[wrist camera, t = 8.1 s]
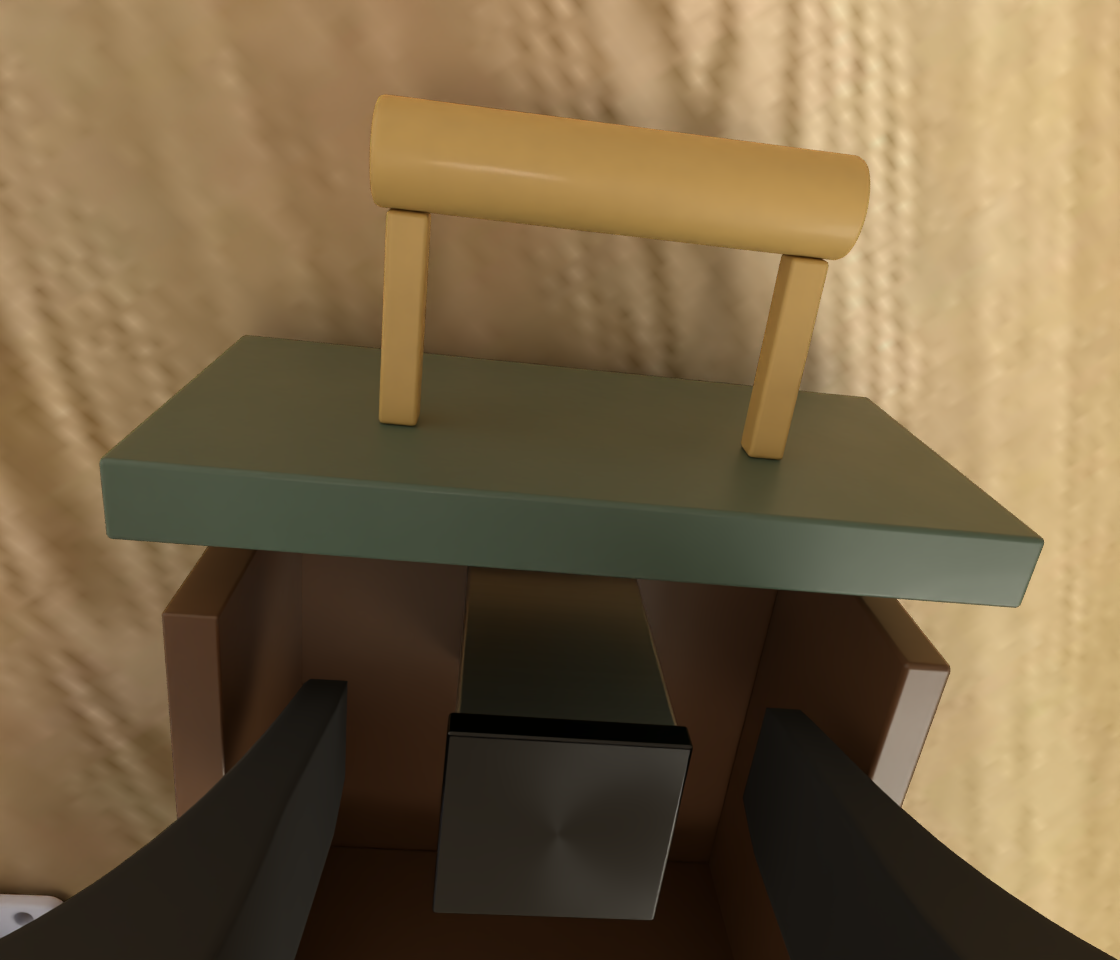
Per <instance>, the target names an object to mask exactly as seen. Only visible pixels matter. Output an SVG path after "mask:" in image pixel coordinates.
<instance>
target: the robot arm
mask: <svg viewBox="0 0 1120 960" xmlns="http://www.w3.org/2000/svg"><path fill="white" fill-rule="evenodd" d="M347 683H348V681H340V680H324V679H309V680H308V681H307V682H305V683H304V684H303V685H302V686H301V688H300V689H299V691H298V692H297V693H296V695H295V696H294V697H293V698H292V700H291V701H290V702H289V704H288V705H287V706H286V707H285V709H284V710H283V711H282V712H281V714H280V715H279V716H278V717H277V718H276V720H275V721H274V722H273V723H272V724H271V725H270V727H269V728H268V729H267V730H266V731H265V733H264V734H263V735H262V736H261V737H260V738H259V739H258V740H257V741H256V742H255V744H254V745H253V746H252V747H251V748H250V749H249V750H248V751H247V752H246V753H245V755H244V756H243V757H242V758H241V759H240V760H239V761H238V762H237V763H236V764H235V765H234V766H233V767H232V768H231V769H230V770H229V771H228V772H227V773H226V774H225V775H224V776H223V777H222V778H221V779H220V780H219V781H218V782H217V783H216V784H215V785H214V786H213V787H212V788H211V789H210V790H209V791H208V792H207V793H206V794H205V795H204V796H203V797H202V798H201V799H200V800H198V801H197V802H196V803H195V804H194V805H193V806H192V807H191V808H190V809H189V810H187V811H186V812H185V813H184V814H183V815H182V816H181V817H179V818H178V819H177V820H176V821H175V822H174V823H172V824H171V825H170V826H169V827H168V828H166V829H165V830H164V831H163V832H162V833H160V834H159V835H158V836H157V837H156V838H154V839H153V840H152V841H151V842H149V843H148V844H147V845H145V846H144V847H143V848H141V849H140V850H139V851H137V852H136V853H135V854H133V855H132V856H131V857H129V858H128V859H127V860H125V861H124V862H123V863H121V864H120V865H119V866H117V867H116V868H115V869H113V870H112V871H110V872H109V873H108V874H106V875H105V876H103V877H102V878H100V879H99V880H97V881H96V882H95V883H93V884H92V885H90V886H88V887H87V888H85V889H84V890H82V891H81V892H79V893H77V894H76V895H74V896H73V897H71V898H70V899H68V900H66V901H65V902H63V901H62V900H60V899H58V898H56V897H53V896H43V895H15V894H0V960H294V959H295V956H296V953H297V950H298V947H299V944H300V940H301V937H302V934H303V931H304V928H305V925H306V922H307V918H308V915H309V912H310V909H311V906H312V903H313V900H314V896H315V893H316V890H317V887H318V884H319V881H320V877H321V874H322V871H323V868H324V865H325V861H326V858H327V855H328V852H329V849H330V845H331V842H332V839H333V836H334V831H335V826H336V821H337V816H338V811H339V806H340V801H341V796H342V790H343V785H344V780H345V761H346V722H347ZM743 803H744V808H745V813H746V818H747V824H748V829H749V833H750V838H751V842H752V847H753V851H754V855H755V858H756V861H757V864H758V867H759V870H760V873H761V876H762V879H763V882H764V885H765V888H766V891H767V894H768V897H769V900H770V902H771V905H772V908H773V911H774V914H775V917H776V920H777V922H778V925H779V928H780V931H781V934H782V937H783V940H784V942H785V945H786V948H787V951H788V954H789V957H790V960H1117V959H1116V958H1114V957H1112V956H1110V955H1108V954H1107V953H1105V952H1103V951H1101V950H1100V949H1098V948H1096V947H1094V946H1093V945H1091V944H1089V943H1087V942H1086V941H1084V940H1082V939H1080V938H1079V937H1077V936H1075V935H1074V934H1072V933H1070V932H1069V931H1067V930H1065V929H1064V928H1062V927H1060V926H1059V925H1057V924H1055V923H1054V922H1052V921H1051V920H1049V919H1047V918H1046V917H1044V916H1043V915H1041V914H1040V913H1038V912H1037V911H1035V910H1034V909H1032V908H1031V907H1029V906H1028V905H1026V904H1025V903H1023V902H1022V901H1020V900H1019V899H1017V898H1015V897H1014V896H1012V895H1011V894H1009V893H1008V892H1007V891H1005V890H1004V889H1002V888H1001V887H999V886H998V885H997V884H995V883H994V882H992V881H991V880H990V879H988V878H987V877H985V876H984V875H983V874H982V873H980V872H979V871H978V870H976V869H975V868H974V867H972V866H971V865H970V864H968V863H967V862H966V861H964V860H963V859H962V858H960V857H959V856H958V855H957V854H955V853H954V852H953V851H951V850H950V849H949V848H948V847H946V846H945V845H944V844H943V843H941V842H940V841H939V840H938V839H937V838H935V837H934V836H933V835H932V834H931V833H930V832H928V831H927V830H926V829H925V828H924V827H923V826H922V825H920V824H919V823H918V822H917V821H916V820H915V819H913V818H912V817H911V816H910V815H909V814H908V813H907V812H905V811H904V810H903V809H902V808H901V807H900V806H899V805H898V804H897V803H896V802H895V801H893V800H892V799H891V798H890V797H889V796H888V795H887V794H886V793H885V792H884V791H883V790H882V789H881V788H880V787H878V786H877V785H876V784H875V783H874V782H873V781H872V780H871V779H870V778H869V777H868V776H867V775H866V774H865V773H864V772H863V771H862V770H861V769H860V768H859V767H858V766H857V765H856V764H855V763H854V762H853V761H852V760H851V759H850V758H849V757H848V756H847V755H846V754H845V753H844V752H843V751H842V750H841V749H840V748H839V747H838V746H837V745H836V744H835V743H834V742H833V741H832V740H831V739H830V738H829V737H828V736H827V735H826V734H825V733H824V732H823V731H822V730H821V729H820V728H819V727H818V726H817V725H816V724H815V723H814V722H813V721H812V720H811V719H810V718H809V717H808V716H807V715H805V714H804V713H803V712H802V711H801V710H798V709H783V708H767V707H766V711H765V715H764V719H763V722H762V726H761V730H760V734H759V737H758V741H757V745H756V749H755V752H754V756H753V760H752V764H751V768H750V771H749V775H748V779H747V783H746V786H745V790H744V794H743Z"/></svg>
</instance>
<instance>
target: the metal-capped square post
mask: <svg viewBox="0 0 1120 960" xmlns="http://www.w3.org/2000/svg"><path fill="white" fill-rule="evenodd" d="M692 750H693V745H692V742H691V738H690V735H689V732H688V728H687V727H685V726H677V724H676V720H675V716H674V713H673V709H672V706H671V702H670V698H669V695H668V691H667V687H666V684H665V680H664V677H663V673H662V669H661V666H660V662H659V658H658V655H657V651H656V647H655V644H654V640H653V637H652V633H651V629H650V626H649V622H648V618H647V615H646V611H645V608H644V604H643V600H642V597H641V593H640V589H639V586H638V582H637V579H633V578H620V577H607V576H594V575H581V574H568V573H555V572H542V571H529V570H516V569H503V568H489V567H476V566H468V571H467V583H466V594H465V606H464V617H463V628H462V640H461V651H460V663H459V674H458V686H457V697H456V709H455V712H452V713H450V714H449V716H448V724H447V735H446V747H445V759H444V771H443V783H442V795H441V806H440V818H439V830H438V842H437V854H436V866H435V878H434V890H433V902H432V910H433V912H435V913H455V914H483V915H510V916H538V917H566V918H594V919H622V920H650V921H651V920H653V919H654V917H655V913H656V908H657V904H658V900H659V895H660V891H661V886H662V882H663V878H664V873H665V869H666V864H667V860H668V856H669V851H670V847H671V843H672V838H673V834H674V829H675V825H676V821H677V816H678V812H679V807H680V803H681V799H682V794H683V790H684V785H685V781H686V777H687V772H688V768H689V763H690V759H691V755H692Z"/></svg>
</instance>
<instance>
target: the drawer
mask: <svg viewBox="0 0 1120 960" xmlns="http://www.w3.org/2000/svg"><path fill="white" fill-rule="evenodd" d="M370 187H371V193H372V197H373V200H374V203H375V204H376V205H378V206H380V207H384V208H391V209H390V210H389V211H388V212H387V214H386V237H385V264H384V290H383V317H382V343H381V349H379V348H369V347H359V346H349V345H339V344H330V343H320V342H310V341H300V340H290V339H280V338H270V337H260V336H250V335H245V336H243V337H241V338H240V339H239V340H238V341H237V342H236V343H234V344H233V345H232V346H231V347H230V348H229V349H227V350H226V351H225V352H224V353H223V354H222V355H221V356H219V357H218V358H217V359H216V360H215V361H214V362H212V363H211V364H210V365H209V366H208V367H207V368H205V369H204V370H203V371H202V372H201V373H200V374H198V375H197V376H196V377H195V378H194V379H193V380H191V381H190V382H189V383H188V384H187V385H186V386H184V387H183V388H182V389H181V390H180V391H179V392H177V393H176V394H175V395H174V396H173V397H172V398H170V399H169V400H168V401H167V402H166V403H165V404H163V405H162V406H161V407H160V408H159V409H158V410H157V411H155V412H154V413H153V414H152V415H151V416H150V417H148V418H147V419H146V420H145V421H144V422H143V423H141V424H140V425H139V426H138V427H137V428H136V429H134V430H133V431H132V432H131V433H130V434H129V435H127V436H126V437H125V438H124V439H123V440H122V441H120V442H119V443H118V444H117V445H116V446H115V447H113V448H112V449H111V450H110V451H109V452H108V453H106V454H105V455H104V456H103V457H102V458H101V460H100V474H101V484H102V494H103V504H104V514H105V524H106V534H107V536H108V537H109V538H111V539H123V540H136V541H149V542H162V543H175V544H188V545H202V546H208V547H207V549H206V550H205V552H204V553H203V555H202V556H201V557H200V559H199V560H198V562H197V563H196V565H195V566H194V568H193V569H192V571H191V572H190V574H189V575H188V576H187V578H186V579H185V581H184V582H183V584H182V585H181V587H180V588H179V590H178V591H177V593H176V594H175V596H174V597H173V598H172V600H171V601H170V603H169V604H168V606H167V607H166V609H165V610H164V612H163V613H162V622H163V635H164V649H165V662H166V675H167V689H168V702H169V715H170V729H171V742H172V755H173V768H174V782H175V795H176V808H177V819H178V818H179V817H181V816H182V815H183V814H184V813H185V812H186V811H187V810H189V809H190V808H191V807H192V806H193V805H194V804H195V803H196V802H197V801H198V800H200V799H201V798H202V797H203V796H204V795H205V794H206V793H207V792H208V791H209V790H210V789H211V788H212V787H213V786H214V785H215V784H216V783H217V782H218V781H219V780H220V779H221V778H222V777H223V776H224V775H225V774H226V773H227V772H228V771H229V770H230V769H231V768H232V767H233V766H234V765H235V764H236V763H237V762H238V761H239V760H240V759H241V758H242V757H243V756H244V755H245V753H246V752H247V751H248V750H249V749H250V748H251V747H252V746H253V745H254V744H255V742H256V741H257V740H258V739H259V738H260V737H261V736H262V735H263V734H264V733H265V731H266V730H267V729H268V728H269V727H270V725H271V724H272V723H273V722H274V721H275V720H276V718H277V717H278V716H279V715H280V714H281V712H282V711H283V710H284V709H285V707H286V706H287V705H288V704H289V702H290V701H291V700H292V698H293V697H294V696H295V695H296V693H297V692H298V691H299V689H300V688H301V686H302V685H303V684H304V683H305V682H307V681H308V680H309V679H324V680H340V681H348V683H347V722H346V761H345V780H344V785H343V790H342V796H341V801H340V806H339V811H338V816H337V821H336V826H335V831H334V836H333V839H332V842H331V845H330V849H329V852H328V855H327V858H326V861H325V865H324V868H323V871H322V874H321V877H320V881H319V884H318V887H317V890H316V893H315V896H314V900H313V903H312V906H311V909H310V912H309V915H308V918H307V922H306V925H305V928H304V931H303V934H302V937H301V940H300V944H299V947H298V950H297V953H296V956H295V959H294V960H790V957H789V954H788V951H787V948H786V945H785V942H784V940H783V937H782V934H781V931H780V928H779V925H778V922H777V920H776V917H775V914H774V911H773V908H772V905H771V902H770V900H769V897H768V894H767V891H766V888H765V885H764V882H763V879H762V876H761V873H760V870H759V867H758V864H757V861H756V858H755V855H754V851H753V847H752V842H751V838H750V833H749V829H748V824H747V818H746V813H745V808H744V803H743V794H744V790H745V786H746V783H747V779H748V775H749V771H750V768H751V764H752V760H753V756H754V752H755V749H756V745H757V741H758V737H759V734H760V730H761V726H762V722H763V719H764V715H765V711H766V707H767V708H783V709H798V710H801V711H802V712H803V713H804V714H805V715H807V716H808V717H809V718H810V719H811V720H812V721H813V722H814V723H815V724H816V725H817V726H818V727H819V728H820V729H821V730H822V731H823V732H824V733H825V734H826V735H827V736H828V737H829V738H830V739H831V740H832V741H833V742H834V743H835V744H836V745H837V746H838V747H839V748H840V749H841V750H842V751H843V752H844V753H845V754H846V755H847V756H848V757H849V758H850V759H851V760H852V761H853V762H854V763H855V764H856V765H857V766H858V767H859V768H860V769H861V770H862V771H863V772H864V773H865V774H866V775H867V776H868V777H869V778H870V779H871V780H872V781H873V782H874V783H875V784H876V785H877V786H878V787H880V788H881V789H882V790H883V791H884V792H885V793H886V794H887V795H888V796H889V797H890V798H891V799H892V800H893V801H895V802H896V803H897V804H898V805H899V806H900V807H902V804H903V801H904V798H905V796H906V793H907V790H908V787H909V785H910V782H911V779H912V776H913V773H914V771H915V768H916V765H917V762H918V760H919V757H920V754H921V751H922V749H923V746H924V743H925V740H926V737H927V735H928V732H929V729H930V726H931V724H932V721H933V718H934V715H935V713H936V710H937V707H938V704H939V701H940V699H941V696H942V693H943V690H944V688H945V685H946V682H947V679H948V677H949V674H950V666H949V664H948V663H947V662H946V661H945V659H944V658H943V657H942V655H941V654H940V653H939V652H938V650H937V649H936V648H935V647H934V645H933V644H932V643H931V642H930V640H929V639H928V638H927V637H926V635H925V634H924V633H923V632H922V630H921V629H920V628H919V627H918V625H917V624H916V623H915V622H914V620H913V619H912V618H911V616H910V615H909V614H908V613H907V611H906V610H905V609H904V608H903V606H902V605H901V604H900V603H899V601H898V600H897V599H908V600H921V601H934V602H948V603H961V604H974V605H987V606H1000V607H1013V608H1016V607H1019V606H1020V605H1021V602H1022V600H1023V597H1024V594H1025V592H1026V589H1027V587H1028V584H1029V581H1030V579H1031V576H1032V574H1033V571H1034V568H1035V566H1036V563H1037V561H1038V558H1039V555H1040V553H1041V550H1042V548H1043V545H1044V540H1043V538H1042V537H1040V536H1039V535H1038V534H1037V533H1035V532H1034V531H1033V530H1032V529H1030V528H1029V527H1028V526H1027V525H1025V524H1024V523H1023V522H1022V521H1021V520H1019V519H1018V518H1017V517H1016V516H1014V515H1013V514H1012V513H1011V512H1009V511H1008V510H1007V509H1006V508H1004V507H1003V506H1002V505H1001V504H999V503H998V502H997V501H996V500H994V499H993V498H992V497H991V496H989V495H988V494H987V493H986V492H984V491H983V490H982V489H981V488H979V487H978V486H977V485H976V484H974V483H973V482H972V481H971V480H969V479H968V478H967V477H966V476H964V475H963V474H962V473H961V472H959V471H958V470H957V469H956V468H954V467H953V466H952V465H951V464H949V463H948V462H947V461H946V460H944V459H943V458H942V457H941V456H939V455H938V454H937V453H936V452H934V451H933V450H932V449H931V448H929V447H928V446H927V445H926V444H924V443H923V442H922V441H921V440H919V439H918V438H917V437H916V436H914V435H913V434H912V433H911V432H909V431H908V430H907V429H906V428H904V427H903V426H902V425H901V424H899V423H898V422H897V421H896V420H894V419H893V418H892V417H891V416H889V415H888V414H887V413H886V412H884V411H883V410H882V409H881V408H880V407H878V406H877V405H876V404H875V403H873V402H872V401H871V400H870V399H868V398H866V397H856V396H846V395H836V394H826V393H816V392H806V391H799V387H800V383H801V379H802V375H803V370H804V366H805V362H806V358H807V354H808V349H809V345H810V341H811V337H812V333H813V329H814V324H815V320H816V316H817V312H818V308H819V304H820V299H821V295H822V291H823V287H824V283H825V278H826V274H827V270H828V262H826V261H825V260H823V259H828V260H837V259H840V258H843V257H844V256H846V255H847V254H848V253H849V252H850V250H851V249H852V248H853V246H854V244H855V243H856V241H857V239H858V237H859V235H860V232H861V229H862V227H863V224H864V221H865V217H866V213H867V209H868V203H869V196H870V175H869V169H868V166H867V164H866V162H865V161H864V160H863V159H862V158H860V157H859V156H856V155H848V154H840V153H833V152H825V151H817V150H810V149H802V148H794V147H787V146H779V145H771V144H764V143H756V142H748V141H740V140H733V139H725V138H717V137H710V136H702V135H694V134H687V133H679V132H671V131H664V130H656V129H648V128H641V127H633V126H625V125H617V124H610V123H602V122H594V121H587V120H579V119H571V118H564V117H556V116H548V115H541V114H533V113H525V112H518V111H510V110H502V109H494V108H487V107H479V106H471V105H464V104H456V103H448V102H441V101H433V100H425V99H418V98H410V97H402V96H395V95H387V94H385V95H382V96H379V98H378V100H377V102H376V105H375V108H374V112H373V118H372V126H371V137H370ZM430 213H435V214H444V215H452V216H461V217H469V218H478V219H486V220H495V221H504V222H512V223H521V224H529V225H538V226H546V227H555V228H563V229H572V230H581V231H589V232H598V233H606V234H615V235H623V236H632V237H640V238H649V239H657V240H666V241H675V242H683V243H692V244H700V245H709V246H717V247H726V248H734V249H743V250H751V251H760V252H769V253H777V254H783V255H782V257H781V261H780V265H779V270H778V274H777V279H776V284H775V288H774V293H773V297H772V302H771V307H770V311H769V316H768V321H767V325H766V330H765V334H764V339H763V344H762V348H761V353H760V357H759V362H758V367H757V371H756V376H755V380H754V385H753V386H747V385H737V384H727V383H717V382H707V381H697V380H687V379H677V378H667V377H657V376H647V375H637V374H627V373H618V372H608V371H598V370H588V369H578V368H568V367H558V366H548V365H538V364H528V363H518V362H508V361H498V360H488V359H479V358H469V357H459V356H449V355H439V354H429V353H423V348H424V330H425V313H426V296H427V278H428V261H429V244H430V226H431V214H430ZM468 566H476V567H489V568H503V569H516V570H529V571H542V572H555V573H568V574H581V575H594V576H607V577H620V578H633V579H637V582H638V586H639V589H640V593H641V597H642V600H643V604H644V608H645V611H646V615H647V618H648V622H649V626H650V629H651V633H652V637H653V640H654V644H655V647H656V651H657V655H658V658H659V662H660V666H661V669H662V673H663V677H664V680H665V684H666V687H667V691H668V695H669V698H670V702H671V706H672V709H673V713H674V716H675V720H676V724H677V726H685V727H687V728H688V732H689V735H690V738H691V742H692V745H693V750H692V755H691V759H690V763H689V768H688V772H687V777H686V781H685V785H684V790H683V794H682V799H681V803H680V807H679V812H678V816H677V821H676V825H675V829H674V834H673V838H672V843H671V847H670V851H669V856H668V860H667V864H666V869H665V873H664V878H663V882H662V886H661V891H660V895H659V900H658V904H657V908H656V913H655V917H654V919H653V920H651V921H650V920H622V919H594V918H566V917H538V916H510V915H483V914H455V913H435V912H433V910H432V902H433V890H434V878H435V866H436V854H437V842H438V830H439V818H440V806H441V795H442V783H443V771H444V759H445V747H446V735H447V724H448V716H449V714H450V713H452V712H455V709H456V697H457V686H458V674H459V663H460V651H461V640H462V628H463V617H464V606H465V594H466V583H467V571H468Z"/></svg>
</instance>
